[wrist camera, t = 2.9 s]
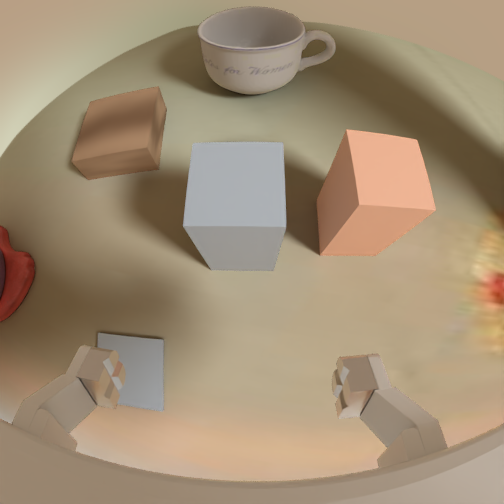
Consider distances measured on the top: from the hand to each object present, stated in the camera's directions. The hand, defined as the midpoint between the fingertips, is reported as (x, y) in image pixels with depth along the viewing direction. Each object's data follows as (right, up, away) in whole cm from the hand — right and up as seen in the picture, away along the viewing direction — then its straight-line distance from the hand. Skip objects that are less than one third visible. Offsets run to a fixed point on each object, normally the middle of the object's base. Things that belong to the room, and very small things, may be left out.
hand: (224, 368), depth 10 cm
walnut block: (-12, +16, +18) cm, 27 cm away
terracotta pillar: (+9, +6, +15) cm, 18 cm away
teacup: (+3, +24, +20) cm, 31 cm away
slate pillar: (0, +5, +15) cm, 15 cm away
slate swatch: (-9, -6, +12) cm, 16 cm away
